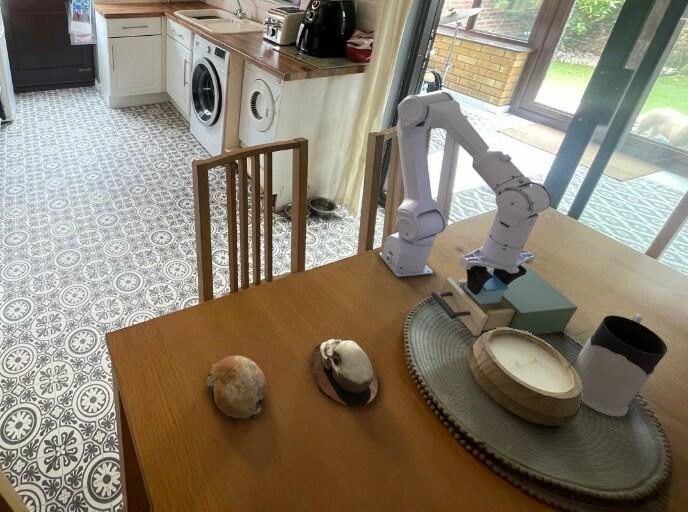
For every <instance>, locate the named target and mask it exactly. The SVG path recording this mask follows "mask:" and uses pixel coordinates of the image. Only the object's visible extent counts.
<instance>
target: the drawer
mask: <svg viewBox="0 0 688 512" xmlns="http://www.w3.org/2000/svg"><path fill="white" fill-rule="evenodd" d="M466 282H467V278H465V279H457V282H455V281H454V280H453V278H452V277H446V278H445V279H444V282H443V284H442V287H441V289H440V291H439V292H438V291H433V292H431V297H432V298H433V300H434V301H436V303H437V304H438V305H439V306H440V307H441V309H442V310H443V311H444V312H445V313H446V315H447V316H448V317H449V318H450V320H455V319H457V318H458V319H459V320H460V321H461V322H462V323H463V324H464V325H465V327H466V328H467V329H468V331H470V333H472V334H473V336H480V335H481V333H482V331H491V330H490V329H492V330H494V329H493V328H497V327H510V325H511V323H512V321H513V319H514V317H515V316H516V314H517V312H516V311H515V310H514V309H513V308H511V307H510V306H509V305H508V304H507V303H506V302H505V301H504V300H503V299H502V298H501V300H500V302H497V303H487V304H480V303H479V302H478V301H477V300H476V299H475V298H474V297H473V296H472V295H471V294H470V293H469V292H468V291H467V290H466V289H465V288H464V287H465V285H466Z"/></svg>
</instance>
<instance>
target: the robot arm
mask: <svg viewBox="0 0 688 512" xmlns="http://www.w3.org/2000/svg"><path fill="white" fill-rule="evenodd" d="M397 113H398V120H397V123H396V135H397V142H398V143H397V144H398V150H399V152H398V153H399V159H400V166H401V167H400V168H401V175H402V183H403V191H404V200H403V201H402V202H401V204H400V205H399V206H398V207H397V209H396V211H397V218H396V221H395V227H396V231H397V232H395V233H393V234H390V235H387V236H386V238H385V241H384V244H383V247H382V252H379V253H378V254H379V257H380V258H381V259H382V260H383V261H384V262H385V264H386V265H387V266H388V267H389V269H390V270H391V271H392V272H393V274H394V276H395V277H397V278H401V277H402V278H403V277H412V276H413V277H414V276H424V275H432V274H433V272H434V271H433V270H432V269H431V268H430V267H429V265H428V264H427V263H428V260H429V257H430V254H431V252H432V248H433V245H434V243H435V239H436V238H437V236H438V234H441V233H443V232H444V231H445V230H446V229H447V220H446V217H445V215H444V214H443V212H442V207H441V204H440V203H439V202H438V201H436V200H435V199H433V195H432V187H431V179H430V170H429V163H428V162H429V161H428V154H427V153H428V152H427V145H426V138H425V133H426V132H427V131H428V130H429V129H430V128H434V129H442V130H444V131H445V132H446V133H447V134H448V135H449V136H450V137H451V138H452V139H453V140H454V141H455V142H456V143H457V144H458V145H459V146H460V147H461V148H462V149H463V150H464V151H466V153H467V154H468V155H469V156H470V157H472V162H471V163H472V164H471V166H472V168H473V170H474V171H475V172H476V173H477V175H479V177H480V178H481V179H482V180H483V181H484V183H485V184H486V185H487V187H489V188H490V189H491V190H492V192H493V193H494V194H495V204H496V207H497V210H496V211H497V212H496V214H495V216H494V219H493V220H492V224H491V225H490V228H489V229H488V232H487V235H486V236H485V237H486V238H485V240H484V242H483V244H482V246H480V247H479V248H477V249H475V250H473V251H471V252H470V253H467V254H463V255H462V254H461V256H460V258H459V261H458V263H459V264H460V265H461V267H462V268H464V269H465V271H466V279H467V288H468V289H469V290H470V291H471V292H472V293H473V294H474V295H476V294H478V293H479V292H480V291H481V289H482V287H483V285H484V284H485V283H486V282H487V281H488V280H489V279H491V278H493V276H492V275H491V274H490V273H489V272H488V271H487V269H488V268H489V269H493V268H494V271H493V274H494V275H495V276H496V277H497V278H499V279H500V280H501V281H502V282H503V283H504V284H505V285H506V286H507V285H509V284H510V283H511V282H512V281H513V280H515V279H517V278H518V277H520V276H523V275H525V274H526V272H527V270H526V269H525V268H524V267H523V266H524V265H523V264H527V265H531V264H533V262H534V260H535V258H536V255H535V254H533V253H532V252H530V251H529V250H528V249H524V247H525V246H526V244H527V242H528V239H529V237H530V236H531V234H532V231H533V229H534V227H535V224H536V222H537V219H538V217H539V216H540V215H539V214H540V213H543V212H544V211H547V210H548V209H549V208H550V206H552V200H553V199H552V196H551V193H550V192H549V190H548V189H547V187H546V186H545V185H544V184H542V183H540V182H538V181H534V180H532V179H531V178H530V177H528V176H526V175H525V174H524V173H523V172H522V171H521V170H520V169H519V168H518V167H517V165H515V163H513V161H512V157H511V156H510V155H509V154H508V153H504V152H503V151H502V150H500V149H495V148H491V147H490V146H489V145H488V144H487V143H486V141H485V140H484V138H482V137H481V135H480V134H479V133H478V131H477V130H476V128H474V126H473V125H472V124H471V123H470V121H469V120H468V119H467V117H466V116H465V115H464V114H463V113H462V111H461V104H460V102H458V101H457V100H456V99H454V97H453V95H452V94H451V93H449V92H448V91H447V90H442V89H438V90H435V91H431V92H426V93H420V94H410V95H407V96H406V97H404V98H403V99H402V101H400V103H398V105H397Z"/></svg>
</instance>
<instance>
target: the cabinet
mask: <svg viewBox="0 0 688 512" xmlns="http://www.w3.org/2000/svg"><path fill="white" fill-rule="evenodd" d="M522 266H523V267H524V268H525V269H526V270H527V272H526V274H525V275H523V276H520V277H518V278H517V279H515V280H513V281H512V282H511V283H510V284H509V285H507V287H508V289H507V290H505V292H504V294H503V296H502V299H503V300H504V301H505V302H506V303H507V304H508V305H509V306H510V307H511V308H513V309H514V310H515V311H516V312H517V314H516V316H515V317H514V319H513V321H512V323H511V325H510V327H509V328H513V329H518V330H524V331H528V332H529V333H532V334H534V335H533V336H536V335H543V334H552V333H560V332H564V331H565V329H566V328H567V326H568V324H569V323H570V321H571V320H572V318H573V316H574V314H575V313H576V311H577V310H578V307H579V306H577V305H576V304H574V303H573V302H572V301H571V300H570V299H569V298H567V297H566V296H565V295H564V294H562V293H561V292H560V291H558V289H556V288H555V287H554V286H553V285H551V284H550V283H549V282H548V281H547V280H546V279H544V278H543V277H542V276H541V275H540V274H538V273H537V272H536V271H534V270H533V269H532V268H531V267H530V266H528V264H527V265H522ZM487 270H490V271H491V272H492V273H493V271H494V268H487Z"/></svg>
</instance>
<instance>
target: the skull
mask: <svg viewBox="0 0 688 512" xmlns="http://www.w3.org/2000/svg"><path fill="white" fill-rule="evenodd" d="M309 368H310V372H311V375H312V376H313V379H314V380H315V382H316V384H317V385H318V387H319V388H320V389H321V391H323V392H324V394H326V395H327V396H328V397H330V398H331V399H333V400H334V401H336V402H338V403H340V404H343V405H346V406H349V407H361V406H365V405H367V404H369V403H371V402H372V401H373V400H374V398H375V397H376V396H377V393H378V389H379V382H378V377H377V376H378V375H377V374H376V373H377V372H376V370H375V369H374V367H373V365H372V363H371V360H370V358H369V357H368V355H367V354H366V352H365V351H364V350H363V349H362V348H361V347H360V345H358V343H357V342H356V341H353V340H341V339H340V338H339V339H333V338H332V339H328V340H327V341H324V342H322V343H319V344H317V345H316V346H315V347H314V348H313V350H312V351H311V354H310V358H309Z"/></svg>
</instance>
